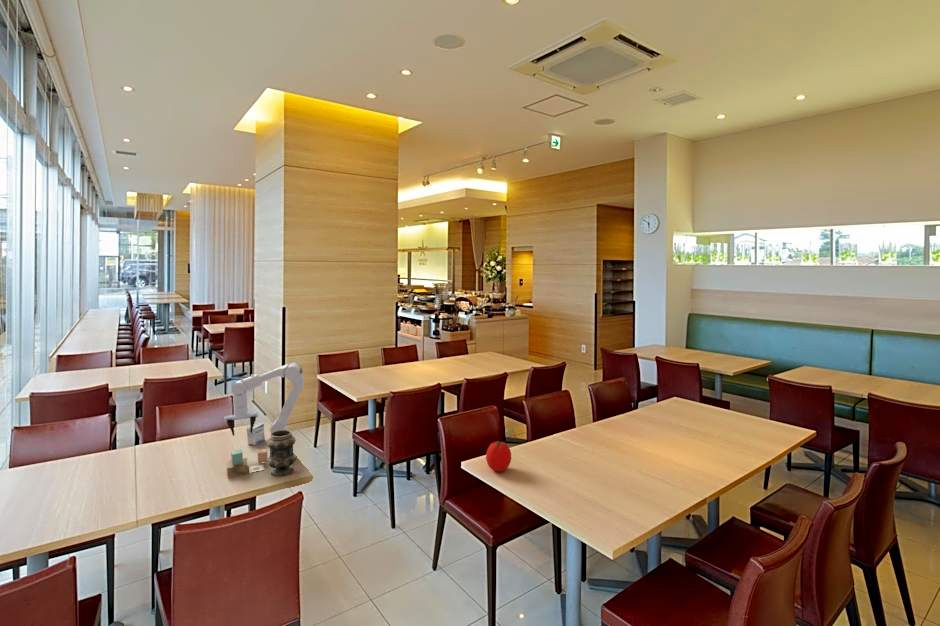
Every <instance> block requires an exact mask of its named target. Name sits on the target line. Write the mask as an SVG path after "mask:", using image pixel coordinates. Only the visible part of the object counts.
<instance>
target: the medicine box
mask: <svg viewBox="0 0 940 626" xmlns="http://www.w3.org/2000/svg"><path fill="white" fill-rule="evenodd" d="M246 434H247V437H246V438H247V445H248V444H253V445H252V446H257V445H258V444H260V443H262V442H263V441H265V440H264V439H265V438H266V436H265V425H264V423H261V422H260V423H254V425H253V429H252V433H250V427H248V428H246ZM261 441H262V442H261ZM259 442H260V443H259ZM257 443H258V444H257ZM256 444H257V445H256Z"/></svg>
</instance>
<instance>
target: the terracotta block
mask: <svg viewBox="0 0 940 626" xmlns="http://www.w3.org/2000/svg"><path fill="white" fill-rule="evenodd" d="M268 458H269V457H268V449H267V448H263V449H257V464H258V463H260V464H263V463H262V462H266V463H267V459H268Z"/></svg>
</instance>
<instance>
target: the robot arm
mask: <svg viewBox="0 0 940 626" xmlns="http://www.w3.org/2000/svg"><path fill="white" fill-rule="evenodd" d="M277 377H281V378H286V379H288V380H289V382H290V383H291V385H292V387H291V390H290V392H289V393H288V395H287V398H286V400H285V403H284V404H283V407H282V409H281V410H280V413H279V414H278V416H277V418H276V419H275V420H274V421H273V424H272V425H271V426H270V429H269V433H270V434H271V433H272V432H274V431H277V430H286V428H287V426H288V419H289V417H290V416H291V413H292V411H293V409H294V407H295V405H296V403H297V401H298V398H299V397H300V394H301V392H302V390H303V389H304V386H305V379H304V378H305V377H304V370H303V367H302V366H301V364H299V363H298V362H295V361H294V362H291V363H287V364H284V365H282V366H278V367H277V368H275V369H272V370H270V371H267V372H265V373H263V374H258V373H256V374H255V373H252V374H250V375H249V377H246V378H240V380H236V381H235V383H233V385H231V391H232V393H233V410H234V414H231V415H230V414H229V415H226V416H224V417H223V419H224V422H226V424H227V426H228V428H229V429H230V432H231V433H232V436H235V428H234V421H238V420H244V419H246V420H247V419H249V420H250V433H252V429H253V425H255V424H256V420H257V418H259V412H258V411H257V412H249V409H248V407H249V406H248V395H247V391H250V390H252V389H255V388H258V387H260V386H262V385H263V382H266V381H269V380H272V379H273V378H274V379H275V378H277Z"/></svg>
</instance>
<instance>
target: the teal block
mask: <svg viewBox="0 0 940 626" xmlns="http://www.w3.org/2000/svg"><path fill="white" fill-rule="evenodd" d="M243 456H244V455H243V451H242V449H237V450H236V449H235V450H232V451H230V457H231V459H230V461H232V464H233V465H238V464H242V463H243V458H244V457H243Z"/></svg>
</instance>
